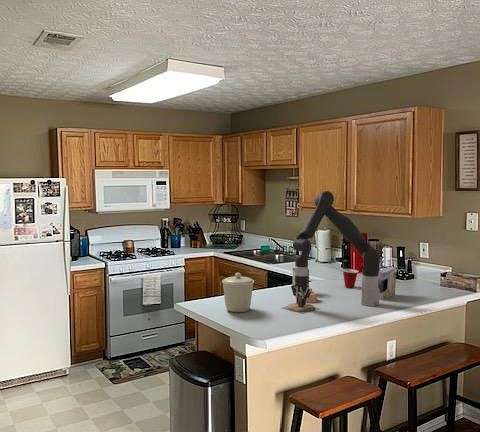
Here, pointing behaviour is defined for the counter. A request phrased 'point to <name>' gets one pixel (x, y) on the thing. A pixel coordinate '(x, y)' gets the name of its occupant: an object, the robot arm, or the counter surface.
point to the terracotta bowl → (311, 297)
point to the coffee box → (294, 277)
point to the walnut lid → (300, 306)
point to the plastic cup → (350, 277)
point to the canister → (237, 293)
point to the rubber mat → (301, 312)
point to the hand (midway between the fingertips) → (301, 304)
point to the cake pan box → (386, 282)
